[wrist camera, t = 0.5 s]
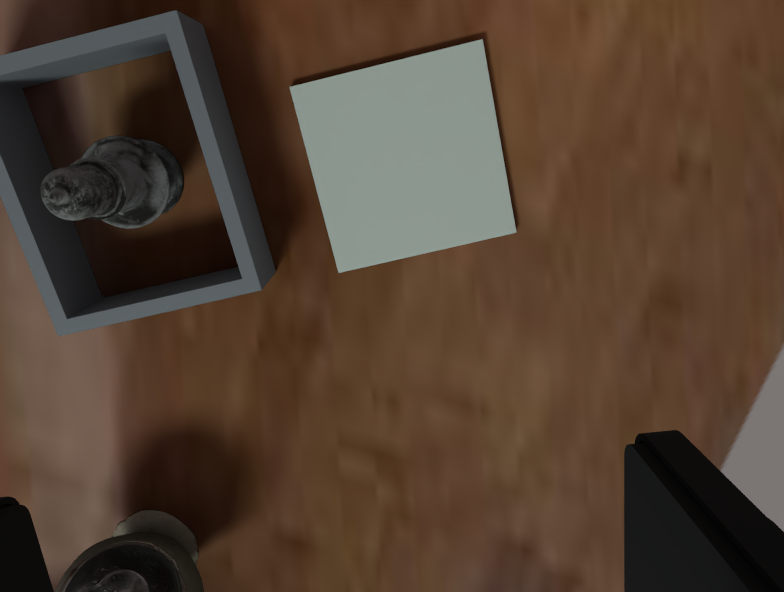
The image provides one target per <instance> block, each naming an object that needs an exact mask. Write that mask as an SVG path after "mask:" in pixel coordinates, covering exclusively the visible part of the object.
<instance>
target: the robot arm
mask: <svg viewBox="0 0 784 592" xmlns="http://www.w3.org/2000/svg"><path fill="white" fill-rule="evenodd" d="M624 574H625V592H784V532H783V531H782V530H781V529H780V528H779V527H778V526H777V525H776V524H775V523H774V522H773V521H771V520H770V519H769V518H767V517H766V516H765V515H764V514H763V513H762V512H761V511H760V510H759V509H758V508H757V507H756V506H755V505H754V504H753V503H752V502H751V501H750V500H749V499H748V498H747V497H746V496H745V495H744V494H743V493H742V492H741V491H740V490H739V489H738V488H737V487H736V486H735V485H733V483H732V482H731V481H729V479H727V478H726V477H725V476H724V475H723V474H722V473H721V472H720V471H719V470H718V469H717V468H716V467H715V466H714V465H713V464H712V463H711V462H710V461H709V460H708V459H707V458H706V457H705V456H704V455H703V454H702V453H701V452H700V451H699V450H698V449H697V448H696V447H695V446H694V445H693V444H692V443H691V442H690V441H689V440H688V439H687V438H686V437H685V436H684V435H683V434H682V433H680V432H679V431H678V430H672V431H662V432H651V433H641V434H638V435H637V437H636V440H635V444H628V445H627V446H626V448H625V454H624ZM0 592H54V591H53V588H52V585H51V581H50V578H49V575H48V571H47V568H46V565H45V561H44V558H43V555H42V551H41V548H40V545H39V541H38V538H37V535H36V532H35V528H34V525H33V522H32V518H31V515H30V512H29V510H28V509H27V508H26V507H25V506H23V505H20V504H19V502H18V501H17V500H16V499H15V498H12V497H0Z"/></svg>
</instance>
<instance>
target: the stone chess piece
mask: <svg viewBox="0 0 784 592" xmlns="http://www.w3.org/2000/svg"><path fill="white" fill-rule="evenodd" d="M183 181H184V179H183V174H182V169H181V167H180V165H179V163H178V161H177V159H176V158H175V157H174V156H173V154H172V153H171V152H170V151H169V150H167V149H166V148H165V147H164V146H162V145H160V144H158V143H156V142H153V141H149V140H143V139H141V140H136V139H134V138H132V137H125V136H110V137H105V138H103V139H101V140H98V141H96V142H95V143H93V144H92V145H91V146H90V147H89V148H87V150H86V151H85V153H84V154H83V156H82V157H81V159H79V160H77V161H75V162H74V163H72V164H71V165H70V166H69V167H64V168H58V169H55V170H53V171H51V172H50V173H49V174H47V175H46V176H45V178H44V179H43V181H42V184H41V197H42V200H43V202H44V204H45V206H46V207H47V208H48V210H49V211H50V212H51V213H53V214H54V215H55V216H57V217H59V218H62V219H65V220H72V221H75V220H82V219H85V218H89V219H94V220H102V221H104V222H105V223H108V224H110V225H113V226H115V227H119V228H126V229H131V228H140V227H142V226H145V225H147V224H150V223H151V222H153V221H154V220H155V219H156V218H158V217H159V216H160V215H161V214H163V213H166V212H168V211H169V210H170V209H171V208H173V207H174V206H175V205H176V203H177V202H178V200H179V199H180V197H181V194H182V191H183Z"/></svg>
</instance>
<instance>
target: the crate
mask: <svg viewBox="0 0 784 592" xmlns="http://www.w3.org/2000/svg"><path fill="white" fill-rule="evenodd" d="M170 50H171V52H172V55H173V58H174V62H175V65H176V68H177V71H178V74H179V78H180V81H181V84H182V87H183V91H184V94H185V97H186V100H187V103H188V107H189V110H190V113H191V116H192V119H193V123H194V126H195V129H196V132H197V135H198V139H199V142H200V145H201V148H202V151H203V155H204V158H205V161H206V164H207V167H208V171H209V174H210V177H211V180H212V183H213V187H214V190H215V193H216V196H217V200H218V203H219V206H220V209H221V212H222V216H223V219H224V222H225V225H226V228H227V232H228V235H229V238H230V241H231V244H232V248H233V251H234V254H235V257H236V260H237V264H238V267H235V268H230V269H226V270H222V271H217V272H213V273H209V274H204V275H200V276H196V277H191V278H187V279H183V280H178V281H174V282H170V283H165V284H161V285H157V286H152V287H148V288H144V289H139V290H135V291H131V292H126V293H122V294H118V295H113V296H109V297H105V298H102V295H101V292H100V290H99V287H98V284H97V282H96V279H95V277H94V274H93V271H92V269H91V266H90V264H89V261H88V258H87V256H86V253H85V251H84V248H83V245H82V243H81V240H80V238H79V235H78V232H77V230H76V227H75V224H74V222H73V221H72V220H65V219H62V218H59V217H57V216H55V215H54V214H53V213H51V212H50V211H49V210H48V208H47V207H46V206H45V204H44V202H43V200H42V197H41V184H42V181H43V179H44V178H45V176H46V175H47V174H49V173H50V172H51V171H53V167H52V164H51V162H50V159H49V157H48V154H47V151H46V149H45V146H44V144H43V141H42V138H41V136H40V133H39V131H38V128H37V125H36V123H35V120H34V117H33V115H32V112H31V110H30V107H29V104H28V102H27V99H26V97H25V94H24V91H23V89H22V88H25V87H29V86H33V85H37V84H41V83H45V82H49V81H53V80H57V79H61V78H65V77H68V76H72V75H76V74H80V73H84V72H88V71H92V70H96V69H100V68H104V67H108V66H112V65H116V64H119V63H123V62H127V61H131V60H135V59H139V58H143V57H147V56H151V55H155V54H159V53H163V52H167V51H170ZM0 196H1V199H2V201H3V204H4V206H5V209H6V211H7V213H8V216H9V218H10V221H11V223H12V225H13V228H14V230H15V233H16V235H17V238H18V240H19V242H20V245H21V247H22V250H23V252H24V255H25V257H26V259H27V262H28V264H29V267H30V269H31V272H32V274H33V276H34V279H35V281H36V284H37V286H38V288H39V291H40V293H41V296H42V298H43V301H44V303H45V305H46V308H47V310H48V313H49V315H50V318H51V320H52V322H53V325H54V327H55V330H56V332H57V334H58V336H62V335H67V334H71V333H76V332H80V331H84V330H89V329H93V328H98V327H102V326H106V325H111V324H115V323H120V322H124V321H128V320H133V319H137V318H142V317H146V316H150V315H155V314H159V313H164V312H168V311H172V310H177V309H181V308H185V307H190V306H194V305H199V304H203V303H207V302H212V301H216V300H221V299H225V298H229V297H234V296H238V295H243V294H247V293H251V292H256V291H260V290H262V289H263V288H264V287H265V285H266V284H267V283H268V281H269V280H270V279H271V278H272V276H273V275H274V274H275V273H276V270H275V267H274V263H273V260H272V257H271V253H270V250H269V246H268V243H267V240H266V236H265V233H264V229H263V226H262V223H261V219H260V216H259V212H258V209H257V206H256V202H255V199H254V196H253V192H252V189H251V185H250V182H249V179H248V175H247V172H246V168H245V165H244V162H243V158H242V155H241V151H240V148H239V145H238V141H237V138H236V134H235V131H234V128H233V124H232V121H231V117H230V114H229V111H228V107H227V104H226V100H225V97H224V94H223V90H222V87H221V83H220V80H219V77H218V73H217V70H216V66H215V63H214V60H213V56H212V53H211V49H210V46H209V43H208V39H207V36H206V33H205V29H204V26H203V24H201V23H199V22H197V21H195V20H194V19H192V18H190V17H188V16H186V15H185V14H183V13H181V12H179V11H177V10H175V11H171V12H167V13H163V14H159V15H155V16H151V17H148V18H144V19H140V20H136V21H132V22H128V23H124V24H121V25H117V26H113V27H109V28H105V29H101V30H97V31H94V32H90V33H86V34H82V35H78V36H74V37H70V38H67V39H63V40H59V41H55V42H51V43H47V44H43V45H39V46H36V47H32V48H28V49H24V50H20V51H16V52H12V53H9V54H5V55H1V56H0Z"/></svg>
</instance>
